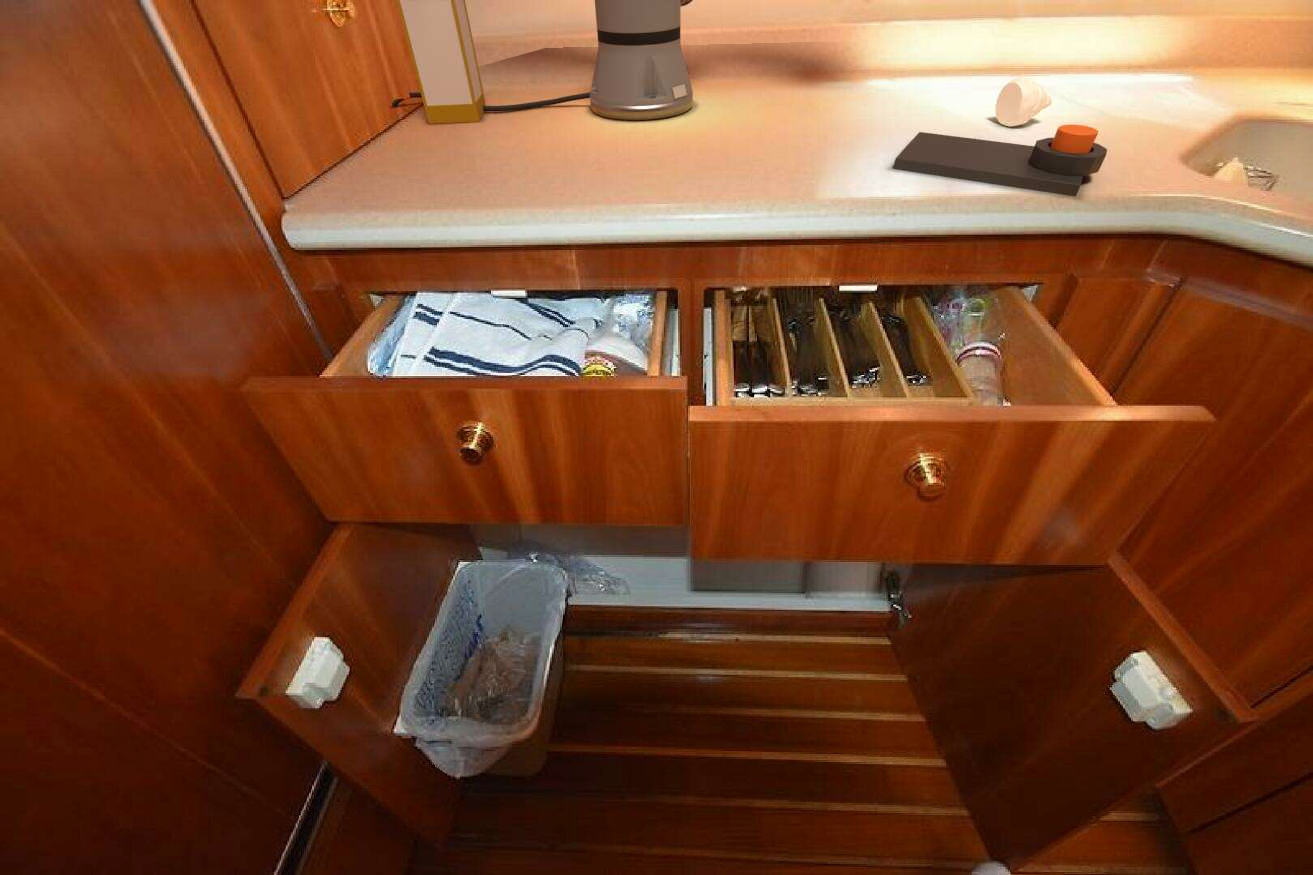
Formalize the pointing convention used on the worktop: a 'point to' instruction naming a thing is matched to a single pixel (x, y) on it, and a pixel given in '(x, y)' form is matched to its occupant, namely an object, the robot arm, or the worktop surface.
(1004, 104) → the garlic bulb
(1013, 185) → the base
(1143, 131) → the worktop surface
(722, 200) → the worktop surface
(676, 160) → the worktop surface
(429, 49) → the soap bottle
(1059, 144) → the switch
